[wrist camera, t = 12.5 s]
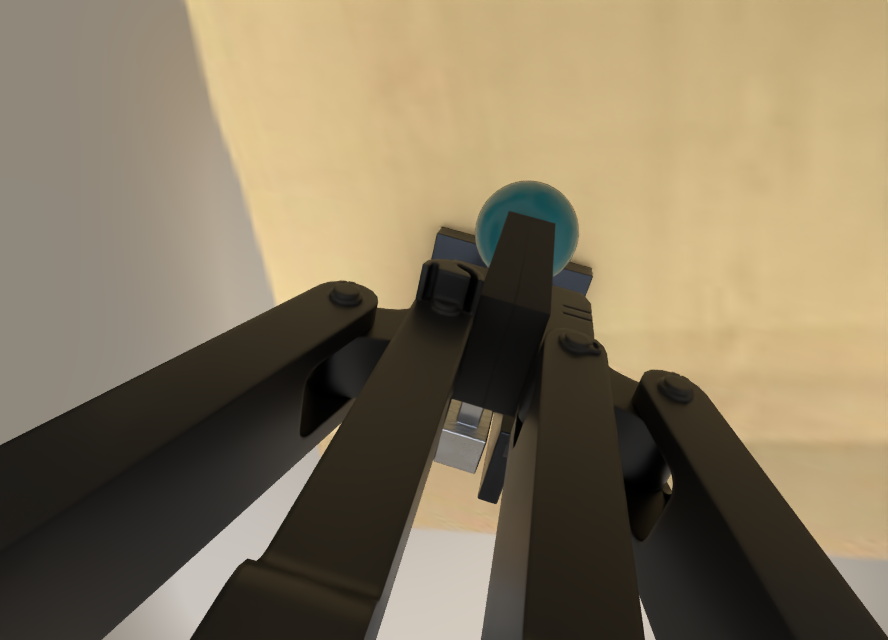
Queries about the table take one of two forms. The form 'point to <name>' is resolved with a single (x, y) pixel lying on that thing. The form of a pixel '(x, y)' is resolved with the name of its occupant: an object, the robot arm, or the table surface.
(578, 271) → the lever base
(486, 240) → the ball knob joystick
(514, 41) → the table surface
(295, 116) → the table surface
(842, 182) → the table surface
